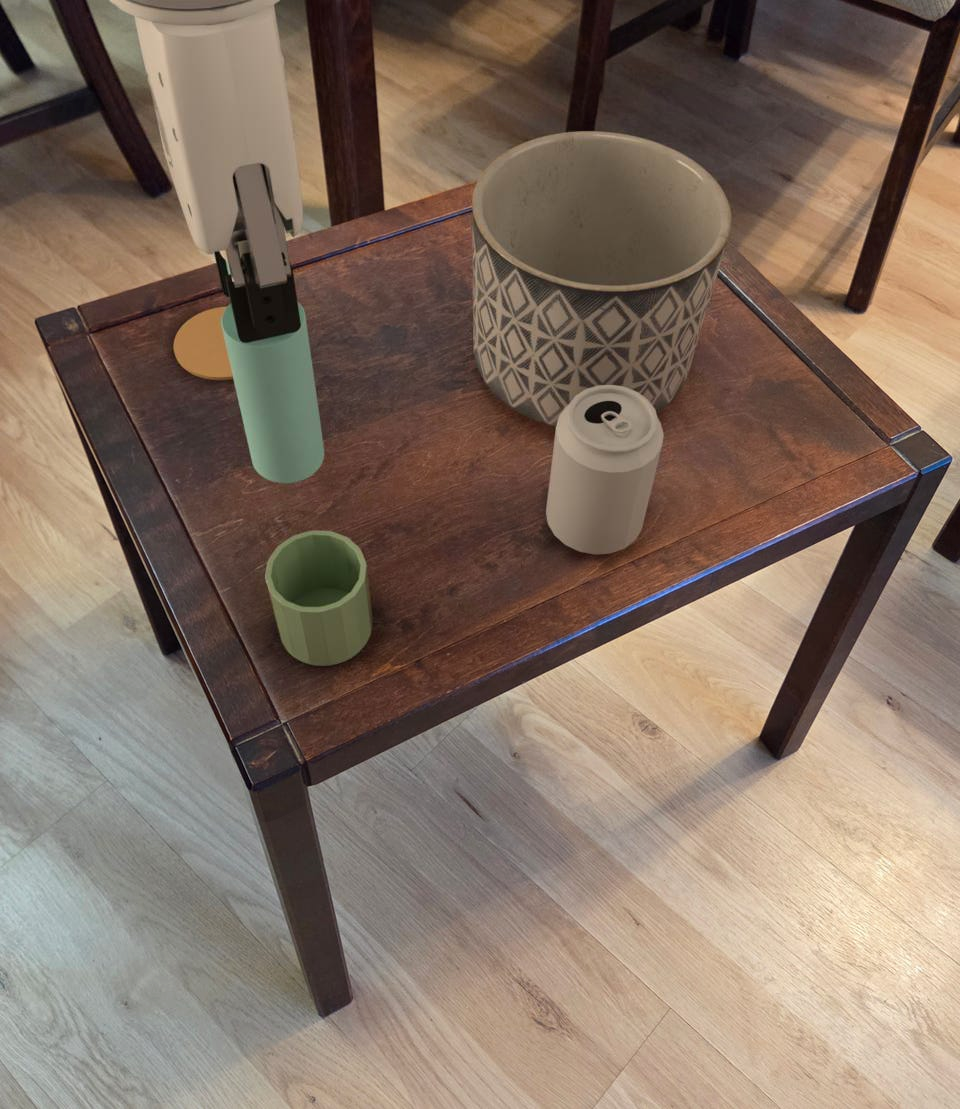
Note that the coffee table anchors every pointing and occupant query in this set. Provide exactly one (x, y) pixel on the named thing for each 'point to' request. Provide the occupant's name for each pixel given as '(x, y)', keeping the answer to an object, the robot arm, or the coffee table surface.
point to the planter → (592, 268)
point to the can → (603, 469)
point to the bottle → (276, 398)
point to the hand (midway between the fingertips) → (261, 308)
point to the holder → (320, 597)
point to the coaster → (204, 346)
